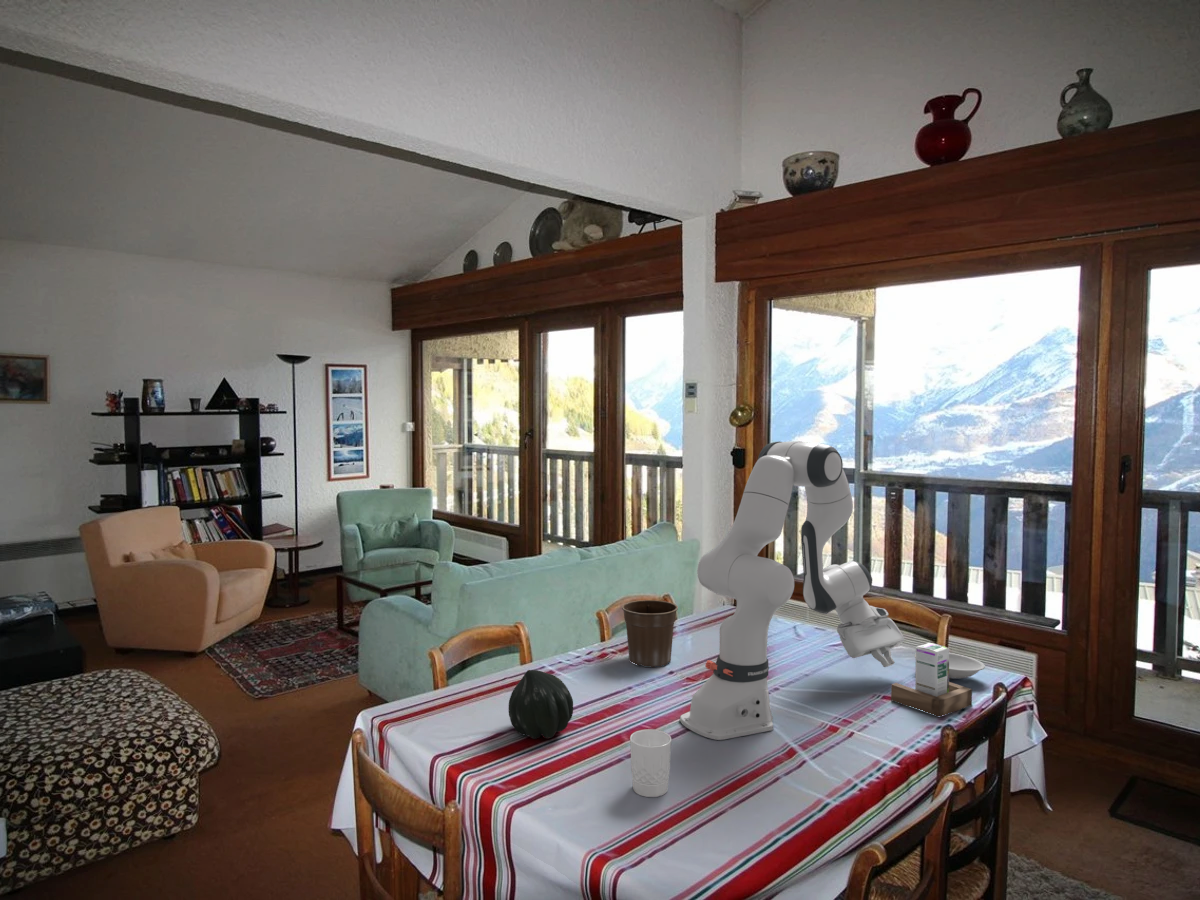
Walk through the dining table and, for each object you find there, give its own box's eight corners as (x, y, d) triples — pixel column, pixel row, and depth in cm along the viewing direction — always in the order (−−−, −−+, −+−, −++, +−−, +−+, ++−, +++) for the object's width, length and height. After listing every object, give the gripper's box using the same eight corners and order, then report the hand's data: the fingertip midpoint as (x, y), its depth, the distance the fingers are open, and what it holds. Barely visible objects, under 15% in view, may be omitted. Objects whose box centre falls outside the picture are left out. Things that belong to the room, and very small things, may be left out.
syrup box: (936, 710, 182) (937, 651, 181) (913, 702, 187) (915, 645, 186) (948, 705, 185) (950, 647, 184) (926, 697, 190) (928, 641, 189)
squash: (595, 705, 170) (558, 650, 174) (559, 732, 157) (519, 672, 161) (557, 735, 176) (522, 681, 180) (519, 763, 163) (482, 704, 167)
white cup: (668, 778, 147) (668, 728, 147) (673, 799, 140) (673, 746, 139) (628, 779, 147) (628, 729, 147) (631, 799, 139) (631, 747, 139)
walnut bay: (938, 717, 177) (939, 701, 177) (890, 700, 188) (891, 684, 188) (971, 705, 185) (972, 689, 185) (923, 688, 196) (924, 673, 196)
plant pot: (612, 656, 221) (612, 602, 220) (659, 649, 228) (660, 597, 227) (637, 673, 207) (638, 616, 206) (687, 665, 213) (688, 610, 213)
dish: (907, 678, 204) (907, 660, 204) (922, 664, 215) (922, 647, 215) (977, 693, 193) (978, 674, 193) (989, 678, 204) (990, 660, 204)
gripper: (841, 619, 196) (872, 666, 189) (889, 608, 207) (920, 652, 200) (827, 631, 200) (857, 678, 192) (875, 620, 211) (905, 664, 204)
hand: (889, 665), depth 196 cm, fingers closed
